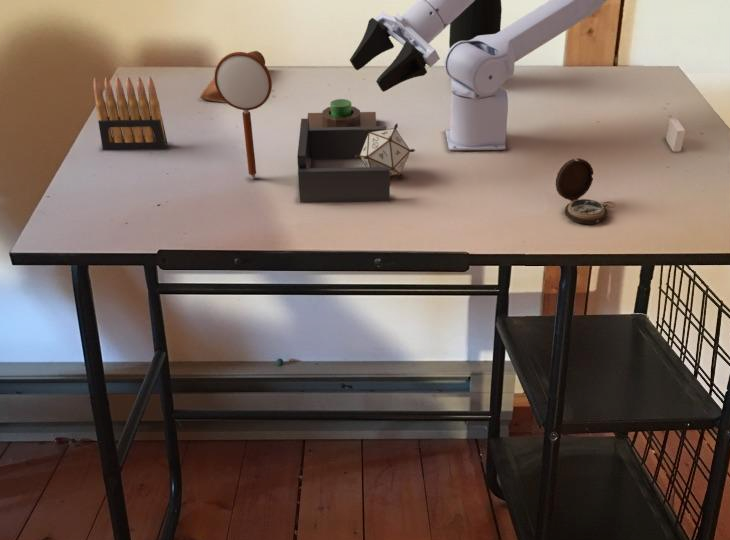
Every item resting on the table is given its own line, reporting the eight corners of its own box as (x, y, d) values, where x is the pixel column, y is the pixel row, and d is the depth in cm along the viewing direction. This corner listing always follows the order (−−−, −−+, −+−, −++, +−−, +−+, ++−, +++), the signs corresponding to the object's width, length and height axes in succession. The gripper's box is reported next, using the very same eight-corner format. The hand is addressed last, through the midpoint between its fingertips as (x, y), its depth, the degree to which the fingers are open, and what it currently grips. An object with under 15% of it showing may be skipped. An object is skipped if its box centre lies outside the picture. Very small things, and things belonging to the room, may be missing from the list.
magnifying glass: (225, 180, 148) (209, 53, 136) (228, 175, 150) (212, 49, 137) (278, 183, 147) (267, 55, 135) (280, 178, 149) (270, 51, 136)
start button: (351, 110, 162) (351, 98, 161) (351, 118, 159) (351, 106, 158) (331, 110, 162) (330, 99, 161) (330, 118, 159) (330, 107, 158)
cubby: (386, 154, 155) (386, 114, 151) (389, 200, 142) (389, 157, 138) (304, 156, 155) (301, 115, 151) (299, 202, 142) (296, 159, 138)
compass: (579, 229, 135) (586, 182, 131) (550, 205, 141) (556, 160, 136) (625, 218, 138) (633, 172, 133) (595, 195, 143) (602, 150, 139)
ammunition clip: (167, 144, 159) (156, 74, 151) (166, 149, 158) (154, 78, 150) (104, 145, 159) (90, 75, 151) (102, 150, 157) (87, 79, 150)
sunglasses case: (224, 64, 187) (238, 36, 183) (255, 84, 189) (269, 56, 185) (197, 98, 173) (211, 69, 169) (231, 119, 175) (246, 90, 171)
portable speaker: (502, 88, 178) (510, -20, 166) (456, 93, 176) (460, -16, 164) (487, 73, 184) (494, -33, 172) (442, 77, 182) (445, -29, 170)
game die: (393, 202, 150) (406, 171, 141) (344, 180, 149) (354, 148, 140) (412, 157, 153) (426, 124, 143) (364, 136, 152) (375, 101, 143)
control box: (375, 120, 166) (375, 101, 164) (376, 141, 159) (376, 122, 157) (308, 122, 166) (307, 102, 164) (306, 143, 159) (305, 123, 157)
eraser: (673, 151, 156) (677, 130, 153) (665, 139, 159) (669, 118, 157) (680, 151, 156) (685, 130, 153) (672, 139, 159) (677, 118, 157)
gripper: (395, -24, 143) (330, 37, 143) (450, 13, 135) (381, 78, 135) (412, 10, 149) (350, 69, 149) (466, 48, 141) (400, 110, 141)
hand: (366, 75), depth 143 cm, fingers open, 7 cm apart
